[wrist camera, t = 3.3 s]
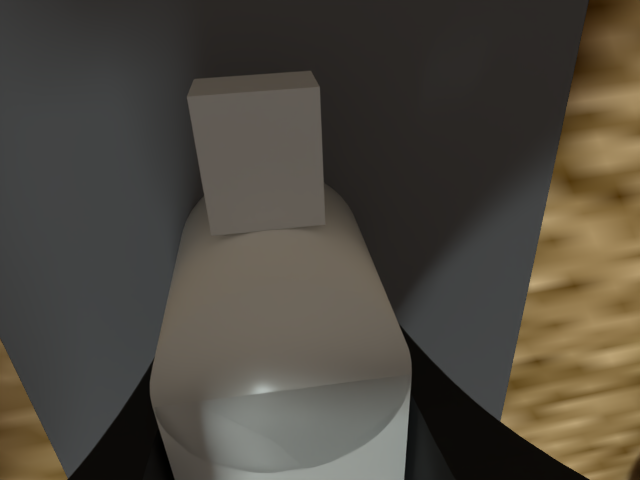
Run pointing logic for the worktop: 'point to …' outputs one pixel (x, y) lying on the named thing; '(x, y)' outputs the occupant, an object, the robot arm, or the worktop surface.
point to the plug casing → (275, 306)
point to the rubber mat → (338, 171)
